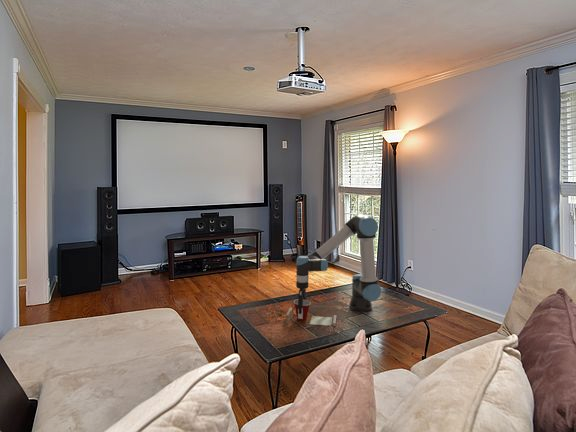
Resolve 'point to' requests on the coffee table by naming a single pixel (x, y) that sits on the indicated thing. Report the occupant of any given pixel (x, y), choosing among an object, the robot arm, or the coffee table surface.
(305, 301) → the plastic cup
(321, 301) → the coffee table surface
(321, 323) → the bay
